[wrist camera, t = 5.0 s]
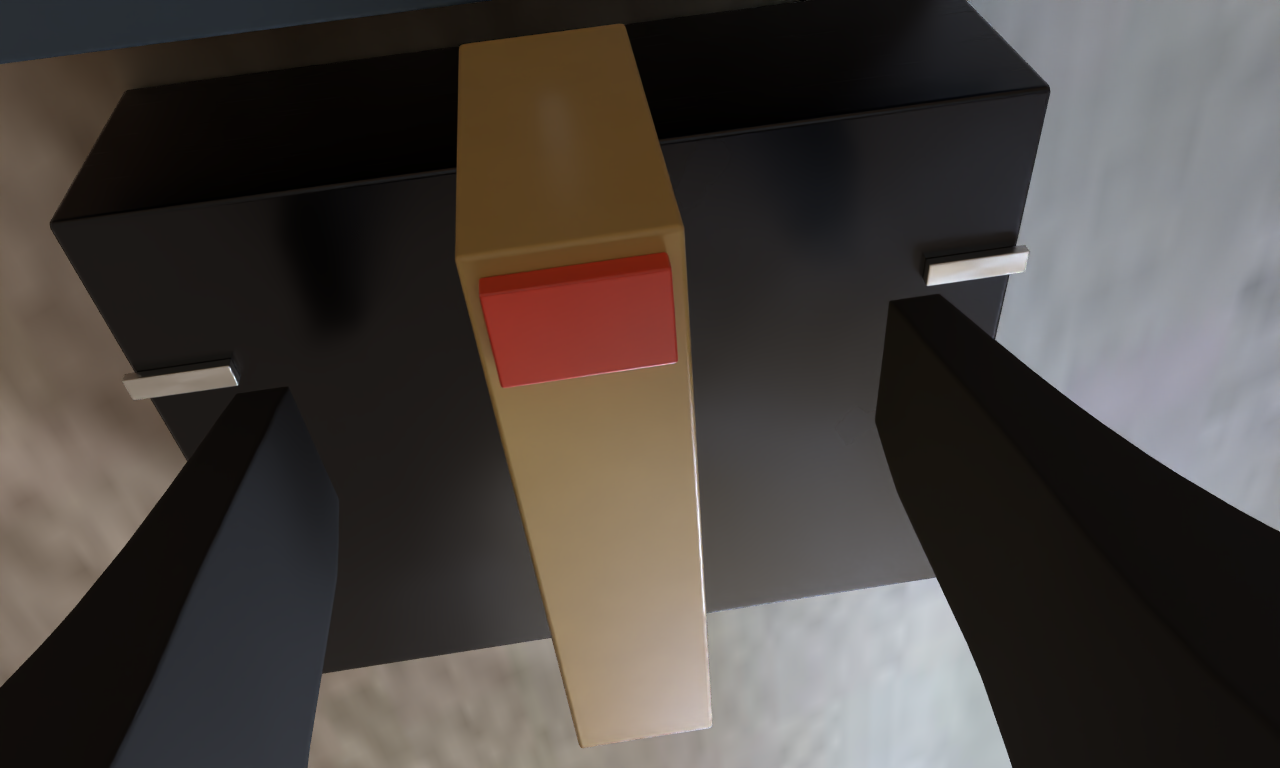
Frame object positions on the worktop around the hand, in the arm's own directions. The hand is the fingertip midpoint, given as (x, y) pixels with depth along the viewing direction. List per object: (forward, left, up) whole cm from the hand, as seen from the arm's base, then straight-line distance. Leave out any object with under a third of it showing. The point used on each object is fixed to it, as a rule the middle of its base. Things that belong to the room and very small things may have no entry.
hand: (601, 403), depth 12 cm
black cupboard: (0, +1, -5) cm, 5 cm away
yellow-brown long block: (0, 0, -2) cm, 2 cm away
